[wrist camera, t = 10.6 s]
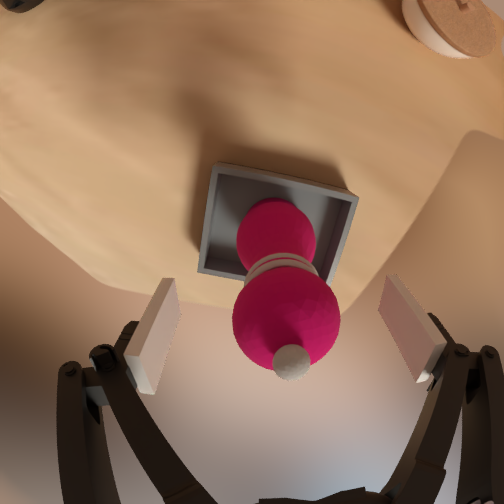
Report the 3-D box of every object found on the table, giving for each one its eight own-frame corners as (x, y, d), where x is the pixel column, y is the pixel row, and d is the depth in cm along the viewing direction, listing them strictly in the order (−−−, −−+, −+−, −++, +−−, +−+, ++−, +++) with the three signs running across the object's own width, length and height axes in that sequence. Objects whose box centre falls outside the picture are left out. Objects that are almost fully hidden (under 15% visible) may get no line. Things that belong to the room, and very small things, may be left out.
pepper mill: (277, 178, 28) (313, 276, 9) (321, 229, 30) (394, 370, 12) (225, 223, 30) (178, 368, 12) (269, 269, 32) (279, 430, 14)
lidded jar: (371, 13, 20) (407, -19, 11) (412, -20, 16) (448, -47, 8) (436, 81, 23) (487, 74, 14) (469, 41, 19) (515, 30, 10)
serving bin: (203, 257, 32) (197, 272, 29) (218, 161, 28) (212, 165, 25) (320, 279, 33) (326, 295, 30) (348, 190, 29) (359, 197, 25)
